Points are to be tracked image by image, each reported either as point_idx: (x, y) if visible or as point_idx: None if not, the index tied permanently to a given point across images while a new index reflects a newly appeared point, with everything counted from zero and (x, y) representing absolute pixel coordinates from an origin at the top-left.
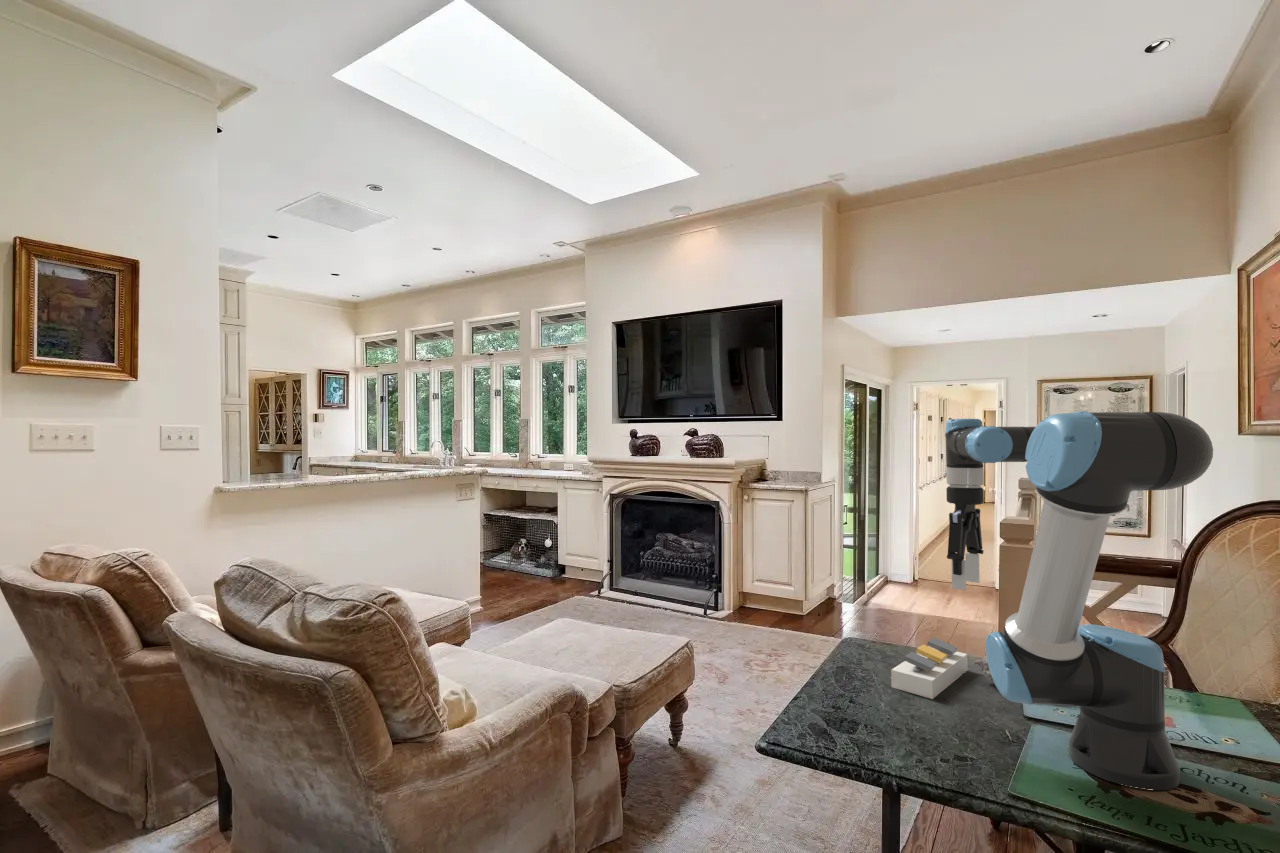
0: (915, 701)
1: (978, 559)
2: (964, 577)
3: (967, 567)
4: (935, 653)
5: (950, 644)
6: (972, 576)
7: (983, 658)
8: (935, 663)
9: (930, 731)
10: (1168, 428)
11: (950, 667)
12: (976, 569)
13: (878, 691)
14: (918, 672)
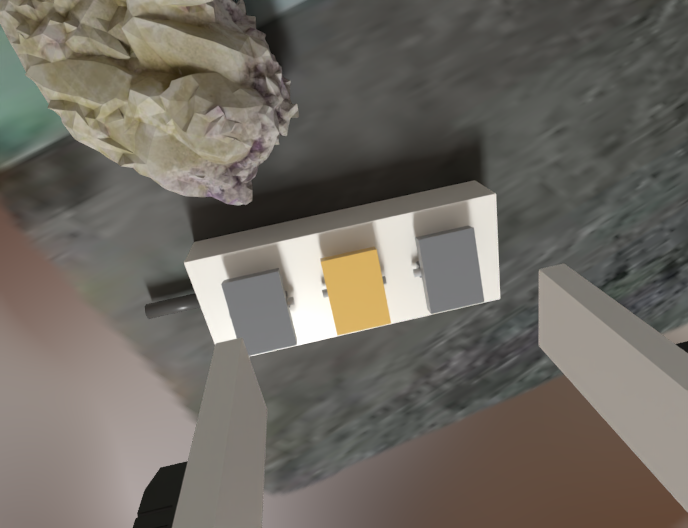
0: (519, 196)
1: (201, 518)
2: (634, 315)
3: (259, 493)
4: (358, 280)
5: (228, 305)
6: (253, 402)
7: (206, 195)
8: (425, 238)
9: (663, 73)
10: None
11: (344, 226)
12: (233, 429)
13: (525, 278)
14: None
